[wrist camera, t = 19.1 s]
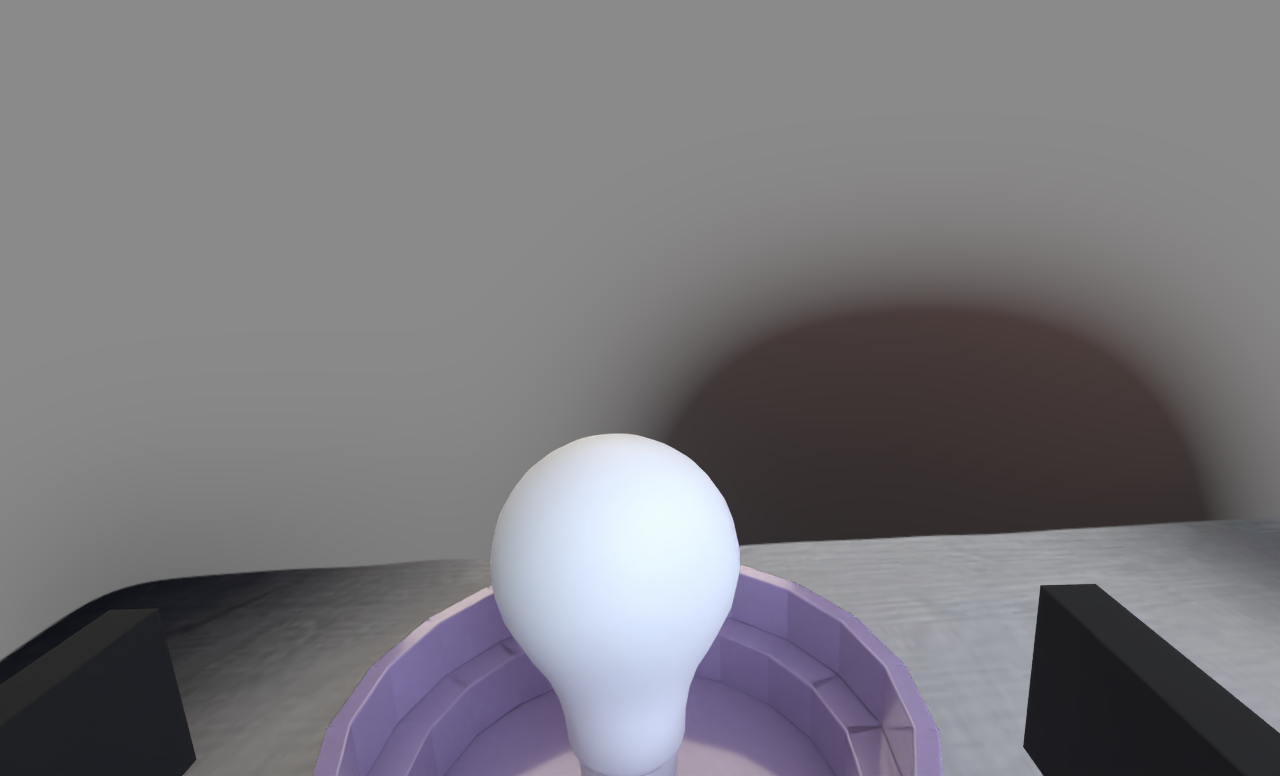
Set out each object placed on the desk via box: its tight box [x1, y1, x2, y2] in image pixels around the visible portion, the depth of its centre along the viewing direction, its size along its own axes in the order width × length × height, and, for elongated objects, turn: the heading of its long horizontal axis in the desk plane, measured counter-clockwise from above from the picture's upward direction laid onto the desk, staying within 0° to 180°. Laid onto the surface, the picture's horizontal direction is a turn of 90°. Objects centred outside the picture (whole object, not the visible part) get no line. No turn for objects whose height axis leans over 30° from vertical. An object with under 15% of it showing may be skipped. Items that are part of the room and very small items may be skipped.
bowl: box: [313, 564, 943, 776], centre depth 17 cm, size 15×15×4 cm
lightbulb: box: [490, 434, 740, 776], centre depth 17 cm, size 6×6×11 cm
